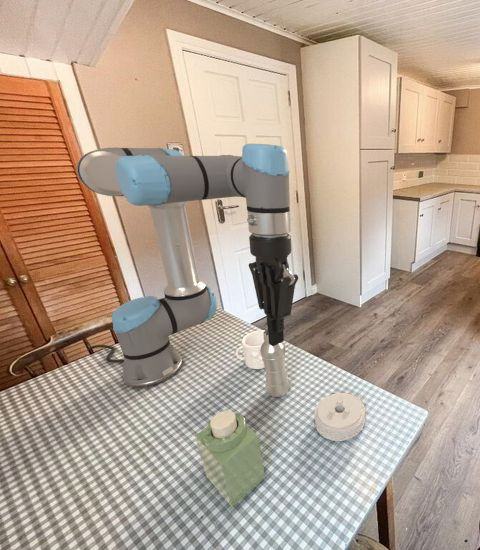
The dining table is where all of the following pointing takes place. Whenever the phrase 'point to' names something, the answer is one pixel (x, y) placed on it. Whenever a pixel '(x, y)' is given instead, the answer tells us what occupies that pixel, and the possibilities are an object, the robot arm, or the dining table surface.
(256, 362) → the mug
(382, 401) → the dining table surface
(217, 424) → the beige short cylinder
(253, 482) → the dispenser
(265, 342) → the plastic bottle
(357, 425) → the lid
